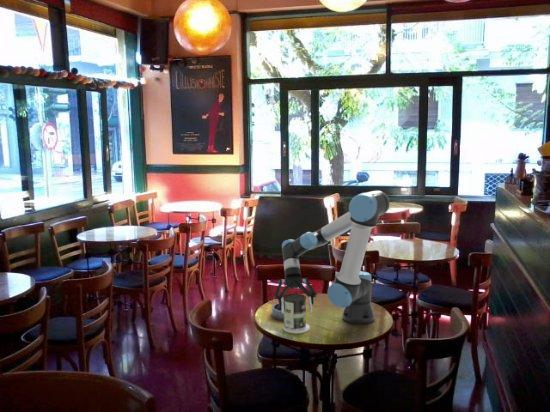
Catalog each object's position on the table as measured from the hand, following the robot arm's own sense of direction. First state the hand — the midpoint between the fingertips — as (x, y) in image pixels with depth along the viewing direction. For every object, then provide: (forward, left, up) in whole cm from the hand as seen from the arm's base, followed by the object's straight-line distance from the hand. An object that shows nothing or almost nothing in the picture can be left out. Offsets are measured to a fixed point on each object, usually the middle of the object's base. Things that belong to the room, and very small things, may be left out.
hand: (297, 311), depth 239 cm
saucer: (+1, -2, -9) cm, 9 cm away
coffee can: (+2, -2, -8) cm, 9 cm away
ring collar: (+12, -17, -9) cm, 23 cm away
